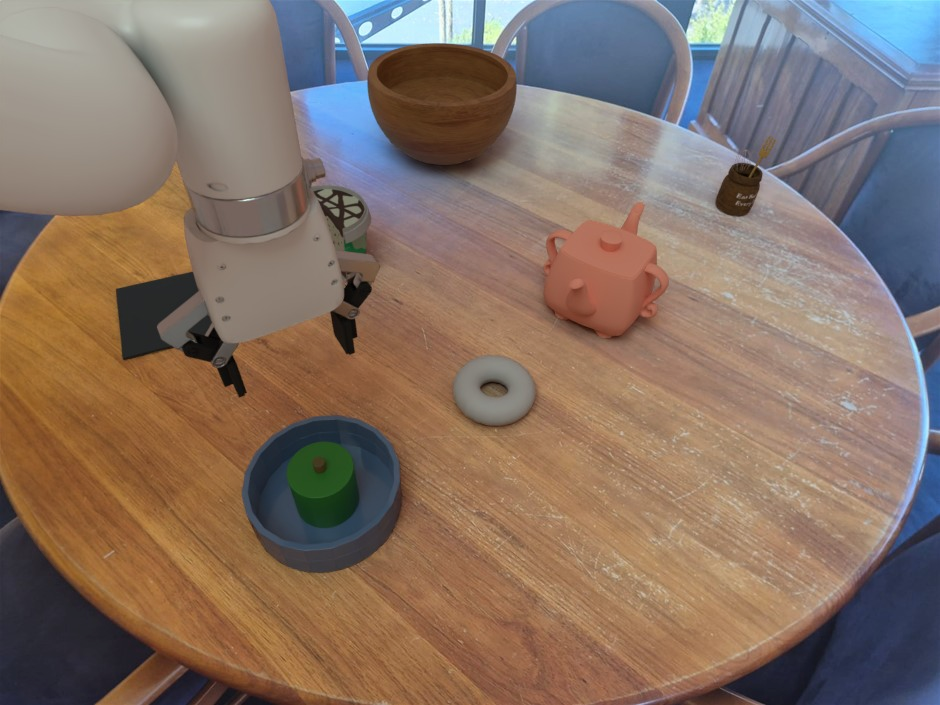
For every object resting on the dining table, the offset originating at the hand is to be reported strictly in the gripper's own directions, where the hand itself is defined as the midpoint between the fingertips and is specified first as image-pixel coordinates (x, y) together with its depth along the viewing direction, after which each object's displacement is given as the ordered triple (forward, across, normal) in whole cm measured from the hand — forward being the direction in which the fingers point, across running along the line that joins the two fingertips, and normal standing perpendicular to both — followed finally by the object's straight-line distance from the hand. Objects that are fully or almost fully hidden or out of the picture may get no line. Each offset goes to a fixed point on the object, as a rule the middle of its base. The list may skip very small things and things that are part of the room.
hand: (293, 364), depth 54 cm
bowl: (+18, -45, -52) cm, 71 cm away
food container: (+18, -18, -32) cm, 41 cm away
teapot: (+18, -43, -6) cm, 47 cm away
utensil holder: (+18, -80, -15) cm, 84 cm away
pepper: (+18, +1, +4) cm, 18 cm away
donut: (+18, -22, 0) cm, 29 cm away
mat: (+18, +8, -34) cm, 39 cm away
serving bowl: (+18, +1, +4) cm, 18 cm away
